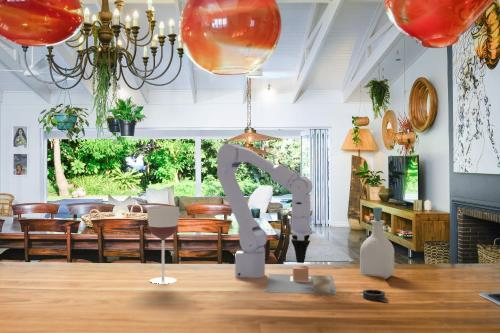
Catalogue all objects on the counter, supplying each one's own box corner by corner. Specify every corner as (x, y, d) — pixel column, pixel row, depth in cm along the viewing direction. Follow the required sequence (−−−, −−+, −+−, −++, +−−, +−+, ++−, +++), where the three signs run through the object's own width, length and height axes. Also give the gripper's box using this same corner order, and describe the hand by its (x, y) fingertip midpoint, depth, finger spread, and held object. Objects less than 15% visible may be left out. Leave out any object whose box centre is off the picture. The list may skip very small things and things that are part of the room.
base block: (293, 280, 154) (293, 268, 154) (293, 276, 159) (293, 265, 159) (308, 280, 154) (308, 269, 154) (308, 277, 158) (308, 265, 158)
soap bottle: (395, 275, 168) (396, 206, 167) (387, 281, 159) (388, 209, 159) (367, 271, 173) (367, 205, 172) (358, 277, 164) (358, 207, 164)
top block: (313, 291, 142) (313, 279, 142) (313, 287, 146) (313, 275, 146) (330, 292, 141) (330, 279, 141) (329, 288, 146) (329, 275, 146)
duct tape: (362, 308, 132) (362, 296, 132) (356, 297, 142) (356, 287, 142) (392, 308, 131) (392, 297, 131) (384, 298, 141) (384, 287, 141)
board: (264, 296, 142) (264, 291, 142) (269, 277, 163) (269, 273, 163) (336, 298, 140) (336, 293, 140) (331, 279, 161) (331, 275, 161)
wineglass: (181, 282, 156) (181, 208, 156) (148, 285, 153) (148, 209, 152) (176, 276, 165) (176, 205, 164) (145, 278, 162) (145, 206, 161)
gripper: (314, 219, 149) (314, 265, 149) (313, 213, 163) (312, 255, 163) (290, 218, 149) (290, 264, 149) (291, 213, 164) (290, 255, 164)
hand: (300, 260), depth 156 cm, fingers open, 7 cm apart
